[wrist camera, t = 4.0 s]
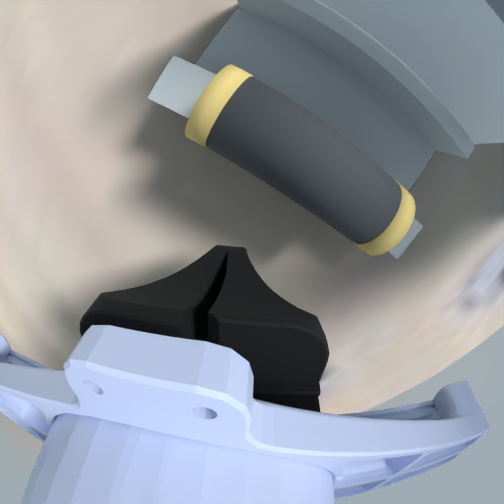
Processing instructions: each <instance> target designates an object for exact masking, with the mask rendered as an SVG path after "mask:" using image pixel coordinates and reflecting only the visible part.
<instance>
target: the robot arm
mask: <svg viewBox="0 0 504 504" xmlns="http://www.w3.org/2000/svg"><path fill="white" fill-rule="evenodd" d="M80 333H81V339H80V340H79V342H78V343H77V345H76V346H75V348H74V349H73V351H72V353H71V354H70V356H69V357H68V359H67V360H66V362H65V364H64V365H63V367H64V370H55V369H51V368H48V367H46V366H44V365H42V364H39V363H37V362H35V361H33V360H31V359H29V358H27V357H24V356H22V355H20V354H19V353H17V352H15V351H13V350H11V347H10V345H9V343H8V341H7V340H6V338H5V337H4V336H3V335H2V334H1V333H0V411H1V412H2V413H3V414H4V415H6V416H7V417H8V418H10V419H11V420H13V421H14V422H15V423H16V424H18V425H19V426H20V427H22V428H23V429H25V430H26V431H28V432H29V433H30V434H32V435H33V436H35V437H36V438H38V439H39V440H41V441H42V442H44V444H43V447H42V449H41V451H40V453H39V456H38V458H37V460H36V463H35V465H34V468H33V470H32V473H31V475H30V478H29V481H28V483H27V486H26V489H25V492H24V495H23V498H22V501H21V504H335V499H338V498H343V497H348V496H352V495H356V494H361V493H365V492H368V491H372V490H375V489H379V488H382V487H385V486H388V485H392V484H395V483H398V482H400V481H403V480H406V479H409V478H411V477H414V476H417V475H419V474H422V473H425V472H427V471H429V470H432V469H434V468H437V467H439V466H442V465H444V464H446V463H449V462H451V461H452V460H453V459H455V458H456V457H457V456H459V455H460V454H461V453H463V452H464V451H465V450H467V449H468V448H469V447H470V446H471V445H473V444H474V443H475V442H476V441H478V440H479V439H480V438H481V437H482V436H483V435H484V434H485V433H487V432H488V431H489V429H490V426H489V424H488V422H487V419H486V417H485V415H484V413H483V411H482V409H481V407H480V404H479V402H478V401H477V399H476V396H475V394H474V393H473V391H472V389H471V387H470V385H469V383H468V381H466V380H465V381H461V382H457V383H454V384H449V385H447V386H445V387H444V388H442V389H441V390H440V391H439V392H438V393H437V394H436V395H435V397H434V399H433V400H431V401H426V402H422V403H418V404H412V405H407V406H402V407H397V408H391V409H385V410H378V411H370V412H361V413H351V414H339V415H336V414H329V413H322V412H320V406H319V399H318V396H319V395H320V385H319V381H320V379H321V376H322V374H323V372H324V369H325V367H326V364H327V362H328V357H329V349H328V343H327V340H326V336H325V334H324V331H323V329H322V327H321V325H320V322H319V320H318V318H317V316H315V315H313V314H311V313H308V312H306V311H304V310H302V309H299V308H297V307H296V306H294V305H292V304H290V303H289V302H287V301H286V300H284V299H283V298H281V297H280V296H279V295H277V294H276V293H275V292H274V291H272V290H271V289H270V288H269V287H268V286H267V285H266V284H265V283H264V281H263V280H262V279H261V277H260V276H259V275H258V273H257V272H256V270H255V269H254V267H253V265H252V263H251V261H250V259H249V257H248V254H247V250H246V249H245V248H244V247H232V246H220V245H216V246H215V247H214V248H212V249H211V250H210V251H208V252H207V253H206V254H205V255H203V256H202V257H201V258H199V259H198V260H196V261H195V262H193V263H192V264H190V265H189V266H187V267H185V268H184V269H182V270H180V271H179V272H177V273H175V274H172V275H170V276H168V277H166V278H163V279H161V280H158V281H155V282H153V283H150V284H147V285H143V286H139V287H135V288H131V289H126V290H120V291H113V292H105V293H101V294H100V295H99V296H98V298H97V299H96V300H95V301H94V303H93V304H92V305H91V307H90V308H89V309H88V310H87V312H86V313H85V314H84V316H83V317H82V319H81V322H80Z"/></svg>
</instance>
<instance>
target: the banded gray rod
mask: <svg viewBox="0 0 504 504" xmlns="http://www.w3.org/2000/svg"><path fill="white" fill-rule="evenodd" d="M185 137H187V138H189V139H191V140H192V141H194V142H196V143H198V144H199V145H201V146H203V147H205V148H207V147H208V148H209V149H211V150H213V151H215V152H216V153H218V154H220V155H222V156H223V157H225V158H227V159H228V160H230V161H232V162H233V163H235V164H237V165H238V166H240V167H242V168H243V169H245V170H247V171H248V172H250V173H252V174H253V175H255V176H256V177H258V178H260V179H261V180H263V181H264V182H266V183H268V184H269V185H271V186H272V187H274V188H275V189H277V190H279V191H280V192H282V193H283V194H285V195H286V196H288V197H289V198H291V199H292V200H294V201H295V202H297V203H298V204H300V205H301V206H303V207H304V208H306V209H307V210H309V211H310V212H312V213H313V214H315V215H316V216H317V217H319V218H320V219H322V220H323V221H325V222H326V223H328V224H329V225H330V226H332V227H333V228H335V229H336V230H337V231H339V232H340V233H342V234H343V235H344V236H346V237H347V238H349V239H350V240H351V242H352V243H353V244H355V245H356V246H357V247H359V248H360V249H361V250H363V251H364V252H365V253H367V254H368V255H372V256H377V255H381V254H384V253H386V252H388V251H389V250H391V249H392V248H394V247H395V246H396V245H397V244H398V243H399V242H400V241H401V240H402V239H403V238H404V236H405V235H406V233H407V232H408V230H409V228H410V226H411V224H412V222H413V219H414V216H415V209H416V206H415V200H414V198H413V196H412V195H411V194H410V193H409V192H408V191H407V190H406V189H405V188H404V187H403V186H402V185H401V184H400V183H399V182H397V181H395V180H394V179H393V178H392V177H391V176H389V175H388V174H387V173H386V172H385V171H384V170H383V169H382V168H381V167H380V166H378V165H377V164H376V163H375V162H374V161H373V160H372V159H370V158H369V157H368V156H367V155H366V154H364V153H363V152H362V151H361V150H360V149H358V148H357V147H356V146H355V145H353V144H352V143H351V142H350V141H348V140H347V139H346V138H345V137H343V136H342V135H341V134H339V133H338V132H337V131H335V130H334V129H333V128H331V127H330V126H329V125H327V124H326V123H325V122H323V121H322V120H320V119H319V118H318V117H316V116H315V115H313V114H312V113H310V112H309V111H308V110H306V109H305V108H303V107H302V106H300V105H299V104H297V103H295V102H294V101H292V100H291V99H289V98H288V97H286V96H284V95H283V94H281V93H280V92H278V91H276V90H275V89H273V88H271V87H270V86H268V85H266V84H264V83H263V82H261V81H259V80H257V79H256V78H254V77H253V75H251V74H249V73H248V72H246V71H244V70H242V69H240V68H238V67H236V66H234V65H232V64H230V65H228V66H226V67H224V68H223V69H222V70H221V71H220V72H219V73H218V74H217V75H216V76H215V77H214V78H213V79H212V80H211V81H210V83H209V84H208V85H207V87H206V88H205V89H204V91H203V92H202V94H201V95H200V97H199V98H198V100H197V102H196V104H195V105H194V107H193V109H192V111H191V113H190V116H189V118H188V121H187V124H186V127H185Z"/></svg>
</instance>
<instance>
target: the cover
mask: <svg viewBox="0 0 504 504" xmlns="http://www.w3.org/2000/svg"><path fill="white" fill-rule="evenodd" d="M317 1H318V2H320V3H322V4H324V5H325V6H327V7H329V8H330V9H332V10H334V11H335V12H337V13H339V14H340V15H342V16H343V17H345V18H346V19H348V20H349V21H351V22H352V23H354V24H355V25H357V26H358V27H359V28H361V29H362V30H364V31H365V32H366V33H368V34H369V35H370V36H372V37H373V38H374V39H376V40H377V41H378V42H379V43H381V44H382V45H383V46H384V47H386V48H387V49H388V50H389V51H390V52H392V53H393V54H394V55H395V56H396V57H397V58H398V59H400V60H401V61H402V62H403V63H404V64H405V65H406V66H407V67H408V68H409V69H410V70H411V71H413V72H414V73H415V74H416V75H417V76H418V77H419V78H420V79H421V80H422V81H423V82H424V83H425V84H426V85H427V87H428V88H429V89H430V90H431V91H432V92H433V93H434V94H435V95H436V96H437V97H438V98H439V100H440V101H441V102H442V103H443V104H444V105H445V107H446V108H447V109H448V110H449V111H450V113H451V114H452V115H453V116H454V117H455V119H456V120H457V121H458V123H459V124H460V125H461V126H462V128H463V129H464V130H465V132H466V133H467V134H468V136H469V137H470V139H471V140H472V141H473V143H474V144H488V143H504V0H317Z"/></svg>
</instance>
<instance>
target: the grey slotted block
mask: <svg viewBox="0 0 504 504" xmlns="http://www.w3.org/2000/svg"><path fill="white" fill-rule="evenodd" d="M237 1H238V5H239V7H238V9H237V10H236V11H235V12H234V13H233V15H232V16H231V17H230V18H229V19H228V21H227V22H226V23H225V24H224V26H223V27H222V28H221V29H220V31H219V32H218V33H217V35H216V36H215V37H214V39H213V40H212V41H211V43H210V44H209V45H208V47H207V48H206V49H205V51H204V52H203V54H202V55H201V56H200V58H199V59H198V61H197V62H196V64H192V63H190V62H188V61H186V60H183V59H181V58H179V57H176V56H174V55H173V57H172V58H171V60H170V61H169V63H168V64H167V66H166V68H165V69H164V71H163V72H162V74H161V76H160V77H159V79H158V81H157V82H156V84H155V86H154V87H153V89H152V91H151V93H150V95H149V96H148V99H150V100H152V101H154V102H156V103H158V104H160V105H162V106H165V107H167V108H169V109H170V110H172V111H174V112H176V113H178V114H180V115H182V116H184V117H186V118H189V116H190V113H191V111H192V109H193V107H194V105H195V104H196V102H197V100H198V98H199V97H200V95H201V94H202V92H203V91H204V89H205V88H206V87H207V85H208V84H209V83H210V81H211V80H212V79H213V78H214V77H215V76H216V75H217V74H218V73H219V72H220V71H221V70H222V69H223V68H224V67H226V66H228V65H230V64H232V65H234V66H236V67H238V68H240V69H242V70H244V71H246V72H248V73H249V74H251V75H253V77H254V78H256V79H257V80H259V81H261V82H263V83H264V84H266V85H268V86H270V87H271V88H273V89H275V90H276V91H278V92H280V93H281V94H283V95H284V96H286V97H288V98H289V99H291V100H292V101H294V102H295V103H297V104H299V105H300V106H302V107H303V108H305V109H306V110H308V111H309V112H310V113H312V114H313V115H315V116H316V117H318V118H319V119H320V120H322V121H323V122H325V123H326V124H327V125H329V126H330V127H331V128H333V129H334V130H335V131H337V132H338V133H339V134H341V135H342V136H343V137H345V138H346V139H347V140H348V141H350V142H351V143H352V144H353V145H355V146H356V147H357V148H358V149H360V150H361V151H362V152H363V153H364V154H366V155H367V156H368V157H369V158H370V159H372V160H373V161H374V162H375V163H376V164H377V165H378V166H380V167H381V168H382V169H383V170H384V171H385V172H386V173H387V174H388V175H389V176H391V177H392V178H393V179H394V180H395V181H397V182H399V183H400V184H401V185H402V186H403V187H404V188H405V189H406V190H407V191H408V192H409V190H410V189H411V187H412V186H413V184H414V183H415V182H416V180H417V179H418V177H419V176H420V174H421V173H422V171H423V170H424V168H425V167H426V165H427V164H428V162H429V161H430V159H431V158H432V156H433V155H434V153H435V152H436V151H440V152H444V153H448V154H452V155H455V156H459V157H462V158H466V159H468V158H469V157H470V155H471V153H472V151H473V150H474V148H475V144H474V143H473V141H472V140H471V139H470V137H469V136H468V134H467V133H466V132H465V130H464V129H463V128H462V126H461V125H460V124H459V123H458V121H457V120H456V119H455V117H454V116H453V115H452V114H451V113H450V111H449V110H448V109H447V108H446V107H445V105H444V104H443V103H442V102H441V101H440V100H439V98H438V97H437V96H436V95H435V94H434V93H433V92H432V91H431V90H430V89H429V88H428V87H427V85H426V84H425V83H424V82H423V81H422V80H421V79H420V78H419V77H418V76H417V75H416V74H415V73H414V72H413V71H411V70H410V69H409V68H408V67H407V66H406V65H405V64H404V63H403V62H402V61H401V60H400V59H398V58H397V57H396V56H395V55H394V54H393V53H392V52H390V51H389V50H388V49H387V48H386V47H384V46H383V45H382V44H381V43H379V42H378V41H377V40H376V39H374V38H373V37H372V36H370V35H369V34H368V33H366V32H365V31H364V30H362V29H361V28H359V27H358V26H357V25H355V24H354V23H352V22H351V21H349V20H348V19H346V18H345V17H343V16H342V15H340V14H339V13H337V12H335V11H334V10H332V9H330V8H329V7H327V6H325V5H324V4H322V3H320V2H318V1H317V0H237ZM422 227H423V226H422V225H421V224H420V223H419V222H418V221H417V220H416V219H415V218H414V219H413V222H412V224H411V226H410V228H409V230H408V232H407V233H406V235H405V236H404V238H403V239H402V240H401V241H400V242H399V243H398V244H397V245H396V246H395V247H394V248H392V249H391V250H389V251H388V252H389V253H390V254H391V255H393V256H394V257H395V258H396V259H398V258H399V257H400V256H401V254H402V253H403V252H404V251H405V249H406V248H407V247H408V246H409V244H410V243H411V242H412V241H413V239H414V238H415V237H416V235H417V234H418V233H419V231H420V230H421V229H422Z"/></svg>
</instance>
